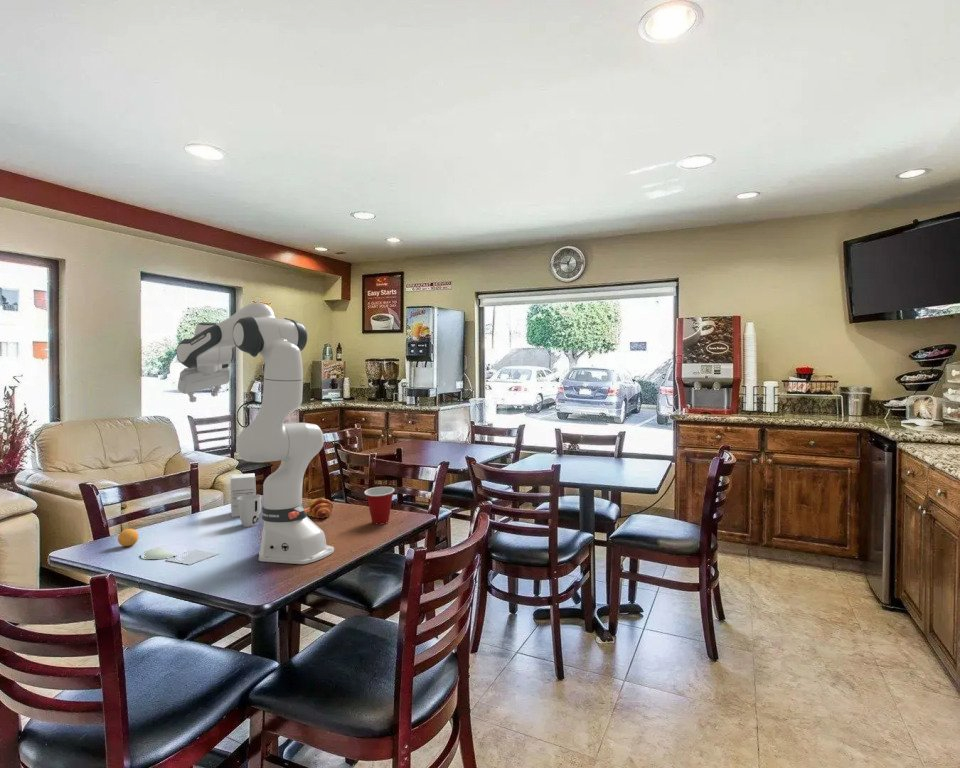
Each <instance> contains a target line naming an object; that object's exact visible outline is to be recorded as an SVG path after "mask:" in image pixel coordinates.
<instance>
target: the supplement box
mask: <svg viewBox="0 0 960 768" xmlns="http://www.w3.org/2000/svg"><path fill="white" fill-rule="evenodd" d="M255 475H256V474H255V473H254V472H253V473H241V474H240V473H237V474H231V475H230V505H231V506H230V513H231V518H237V517H238V516H239V511H238V501H237V498H238V497H241V496H245V495H257V490H256V487H257V486H256V485H257V484H256V476H255ZM239 517H240V516H239Z"/></svg>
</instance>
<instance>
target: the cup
mask: <svg viewBox="0 0 960 768" xmlns="http://www.w3.org/2000/svg"><path fill="white" fill-rule="evenodd" d="M262 499H263V498H262V495H261V494H256V495H245V496H241V497H238V498H237V501H238V511H239V519H240V523H241V524H242V527H247V528H248V527H255V526H257V525H258V524H259V520H260V517H261V513H262Z"/></svg>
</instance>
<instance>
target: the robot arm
mask: <svg viewBox="0 0 960 768" xmlns="http://www.w3.org/2000/svg"><path fill="white" fill-rule="evenodd" d="M307 342H308V332H307V329H306V327H305V326H304V325H303V323H301V322H300V321H298V320H294V319H291V318H286V317H284V318H277V317H276V315H275V312H274V310H273V309H272V307H270V306H269V305H268V304H266V303H265V302H262V301H261V302H260V301H256V302H252V303H249V304H247V305H245V306H243V307H241V308H240V309H239V310H237V311H236V312H235V313H234V314H232V315H231V316H229V317H227V318H226V319H224V320H222V321H220V322H218V323H217V322H209V321H207V322H205V321H203V322H198V323H197V324H196V326H195V329H194V334H193V337H191V338H183V339H182V340H181V341H180V342H179V343H178V345H177V346H176V358H177V360H178V361H179V363H180V364H181V365H183V366H185V368H184V369H182V370H181V371H180V373H179V378H178V383H177V390H178V391H179V393H182V394H187V395H188V397H189V402H190V403H195V402H197V397H196V396H194V395H195V392H197V391H203V390H207V389H210V388H213V390H211V393H210V395H211V397H217V396H218V393H219V391H220V390H221V387H222V385H226V384H228V383H229V382H230V381H231V368H230V367H231V363H232V362H233V361H234V359H235V356H236V348H237V349H238V350H240V351H241V352H242V353H243V352H244V353H246V354H249V355H250V356H251V357H253V358H256V357H257V356H258V355H259V354H260V355H261V357H263V361H264V368H263V369H264V370H263V389H262V401H261V405H260V408H259V411H258V413H257V415H256V416H255V417H254V419H253V420H252V421H251V422H250V424H248V426H246V427H244V428H243V430H241V431H240V433H239V434H238V436H237V438H236V444H235V445H236V451H237V454H238V455H239V457H240V458H241V460H243V461H245V462H248V463H249V462H251V463H267V462H268V463H271V462H278V461H281V462H280V465H279V467H278V468H277V469H276V470H275V471H274V472H272V473H271V474H269V475H268V476H267V477H266V478H265V479H264V481H263V484H262V487H263V488H262V489H263V490H262V491H263V492H262V493H263V498H262V499H263V506H261V519H262V520H263V525H262V531H261V532H262V533H261V541H260V547H259V552H258V561H259V562H266V563H278V564H279V563H281V564H296V565H306V564H310V563H314V562H316V561H317V562H318V561H319V560H322V559H324V558H327V557H329V555H331V554H333V553H334V551H335V547H334V546H333V545H328V544H327V541H326V534H325V532H324V530H322V529H321V528H320V526H318V525H317V524H315V522H314V521H312V519H310V517H309V516H308V515H307V513H306V512H308V511H310V510H308V509H309V508H306V506H305V505H304V503H303V482H304V476H305V472H306V470H307V468H308V466H309V464H310V462H311V461H312V460H313V459H314V457H315V456H316V455H318V454H319V453H320V451H321V450H322V449H323V446H324V443H325V438H324V437H325V436H324V432H323V430H322V429H321V427H320V426H319V425H317V424H316V423H315V424H314V423H308V422H289V423H284V422H285V420H286V418H287V417H288V416H289V415H290V414H291V413H293V412H295V411H296V410H299V408H300V407H301V405H302V403H303V392H304V391H303V390H304V389H303V387H304V385H303V384H304V380H303V379H304V367H303V358H302V354H301V352H302V351H303V350H304V349H305V348H306V345H307ZM307 510H308V511H307Z"/></svg>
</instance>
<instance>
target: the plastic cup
mask: <svg viewBox="0 0 960 768" xmlns="http://www.w3.org/2000/svg"><path fill="white" fill-rule="evenodd" d="M394 492H395V488H394V487H391V486H376V487H370V488H368V489H366V490H365V491H364V495H365V497H366V500H367V503H368V508H369V514H370V517H371V518H370V519H371V523H372V522H373V523H377V524H376V525H382V524H381V523H386V522H388V523H389V520H390V514H391V509H392V500H393V495H394ZM373 523H372V524H373ZM386 524H387V523H386Z"/></svg>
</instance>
